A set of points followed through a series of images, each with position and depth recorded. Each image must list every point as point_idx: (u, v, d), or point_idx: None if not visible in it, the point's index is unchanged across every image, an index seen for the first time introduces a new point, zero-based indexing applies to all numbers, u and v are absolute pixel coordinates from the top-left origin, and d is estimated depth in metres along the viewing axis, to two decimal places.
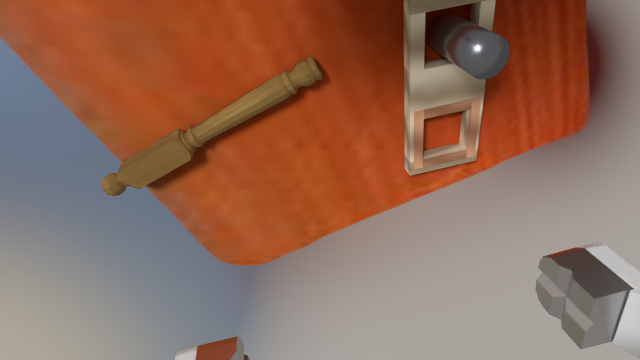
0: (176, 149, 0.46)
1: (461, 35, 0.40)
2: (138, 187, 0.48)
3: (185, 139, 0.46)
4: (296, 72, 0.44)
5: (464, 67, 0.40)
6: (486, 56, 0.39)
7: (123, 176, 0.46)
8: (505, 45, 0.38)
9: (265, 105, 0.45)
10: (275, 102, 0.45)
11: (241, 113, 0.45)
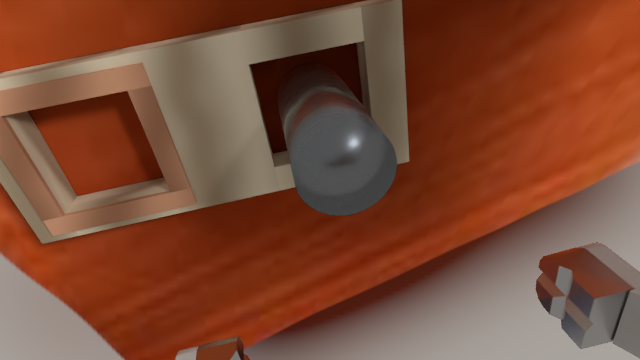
0: None
1: (362, 107, 0.18)
2: None
3: None
4: None
5: (315, 124, 0.16)
6: (350, 164, 0.16)
7: None
8: (371, 198, 0.17)
9: None
10: None
11: None
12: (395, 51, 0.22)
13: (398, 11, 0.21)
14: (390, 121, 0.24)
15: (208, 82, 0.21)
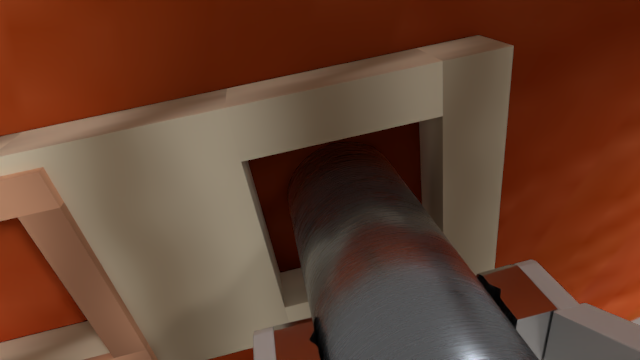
0: None
1: (473, 277, 0.09)
2: None
3: None
4: None
5: None
6: None
7: None
8: None
9: None
10: None
11: None
12: (492, 130, 0.13)
13: (505, 66, 0.12)
14: (471, 232, 0.15)
15: (170, 193, 0.12)
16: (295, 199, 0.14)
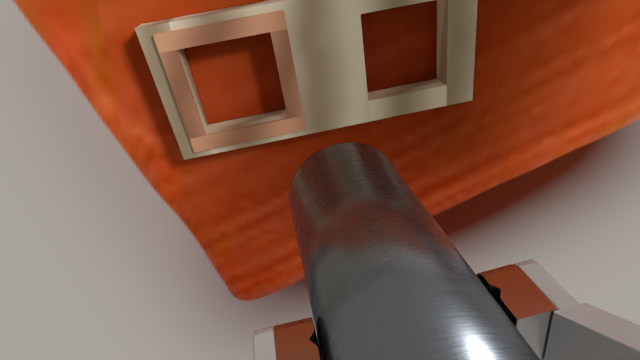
0: None
1: (475, 278, 0.09)
2: None
3: None
4: None
5: None
6: None
7: None
8: None
9: None
10: None
11: None
12: (470, 6, 0.29)
13: None
14: (461, 64, 0.31)
15: (329, 27, 0.28)
16: (297, 199, 0.14)
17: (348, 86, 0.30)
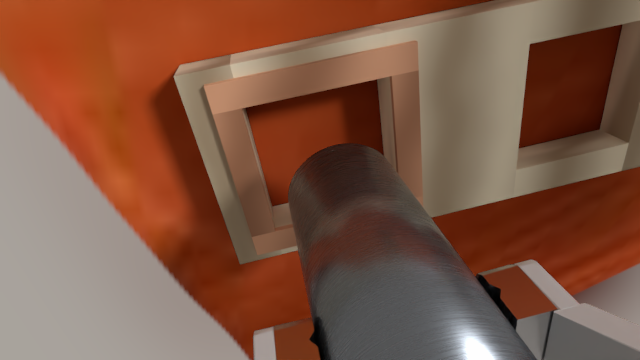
0: None
1: (474, 279, 0.09)
2: None
3: None
4: None
5: None
6: None
7: None
8: None
9: None
10: None
11: None
12: None
13: None
14: None
15: (479, 66, 0.18)
16: (296, 200, 0.14)
17: (492, 151, 0.20)
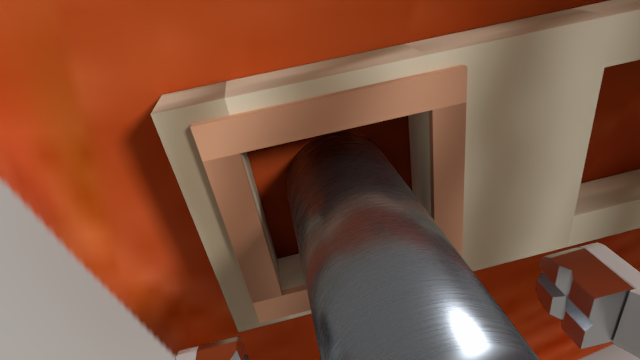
0: None
1: (453, 250, 0.10)
2: None
3: None
4: None
5: (385, 330, 0.08)
6: None
7: None
8: None
9: None
10: None
11: None
12: None
13: None
14: None
15: (540, 95, 0.14)
16: (293, 186, 0.15)
17: (547, 195, 0.16)
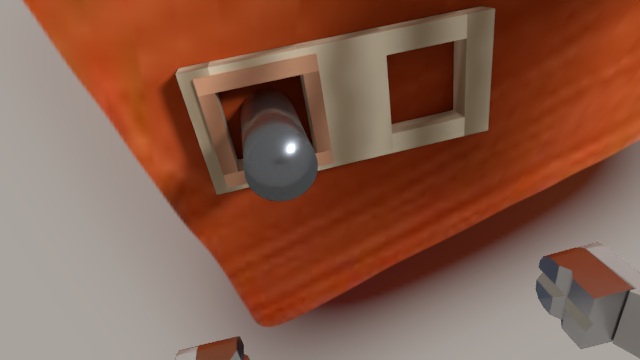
0: None
1: (296, 123, 0.25)
2: None
3: None
4: None
5: (259, 136, 0.23)
6: (284, 163, 0.23)
7: None
8: (302, 188, 0.24)
9: None
10: None
11: None
12: (487, 45, 0.31)
13: (492, 17, 0.30)
14: (478, 98, 0.33)
15: (357, 68, 0.30)
16: (241, 113, 0.30)
17: (373, 121, 0.32)
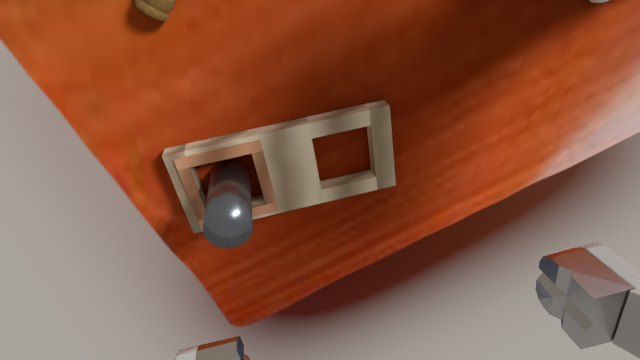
0: None
1: (241, 194, 0.38)
2: None
3: None
4: None
5: (212, 207, 0.35)
6: (229, 225, 0.36)
7: None
8: (243, 240, 0.37)
9: None
10: None
11: None
12: (387, 129, 0.43)
13: (388, 111, 0.42)
14: (384, 164, 0.45)
15: (291, 147, 0.42)
16: None
17: (306, 181, 0.44)
